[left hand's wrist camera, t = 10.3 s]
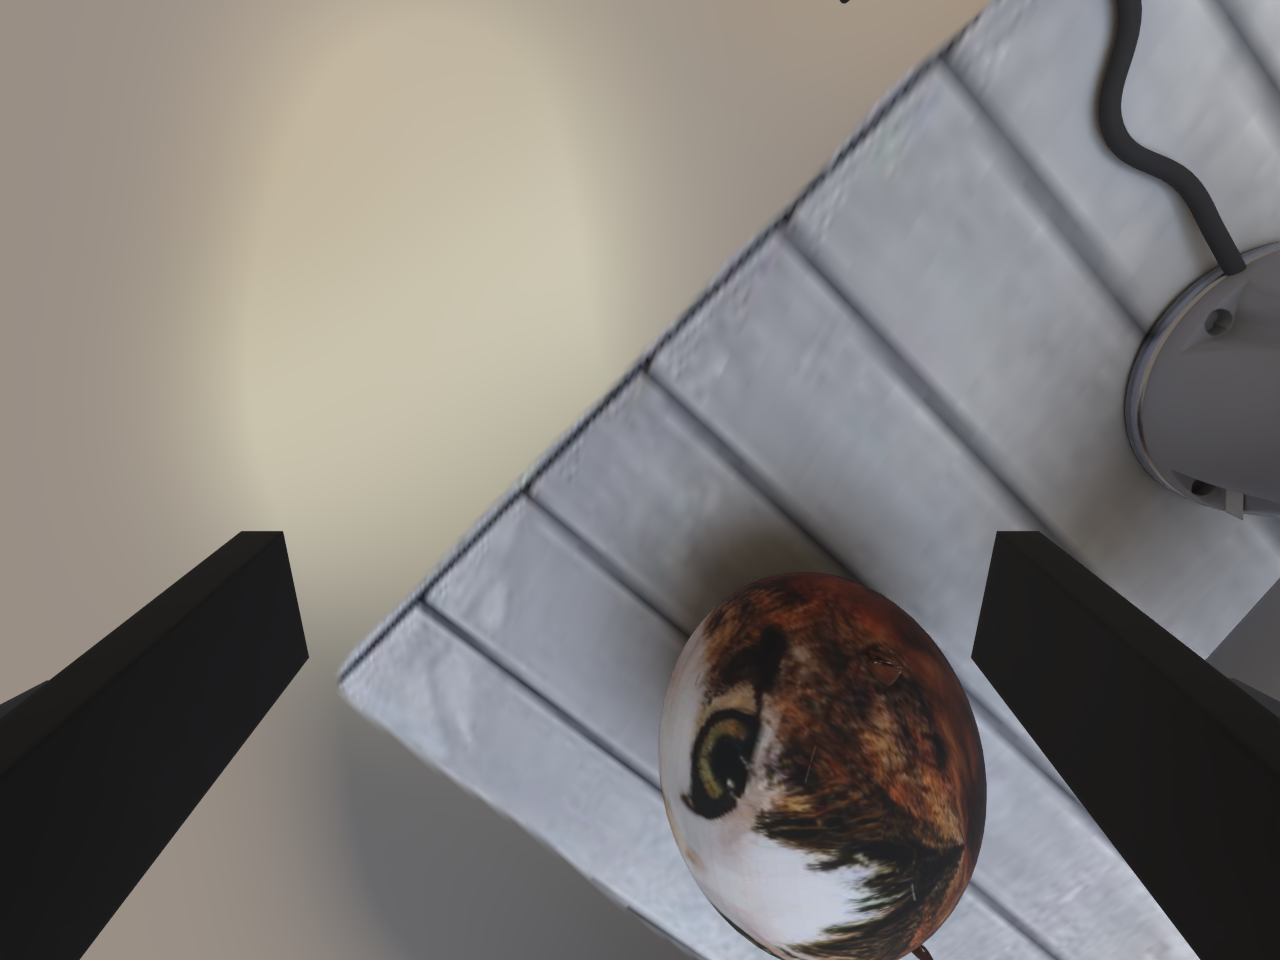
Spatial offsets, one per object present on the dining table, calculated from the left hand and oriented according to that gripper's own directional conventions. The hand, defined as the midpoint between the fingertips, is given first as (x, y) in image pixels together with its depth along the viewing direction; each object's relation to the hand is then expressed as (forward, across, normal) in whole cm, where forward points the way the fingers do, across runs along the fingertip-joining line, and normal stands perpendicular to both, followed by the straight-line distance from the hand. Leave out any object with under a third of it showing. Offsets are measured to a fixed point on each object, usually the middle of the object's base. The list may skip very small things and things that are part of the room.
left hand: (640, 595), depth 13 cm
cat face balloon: (+28, +10, -22) cm, 37 cm away
